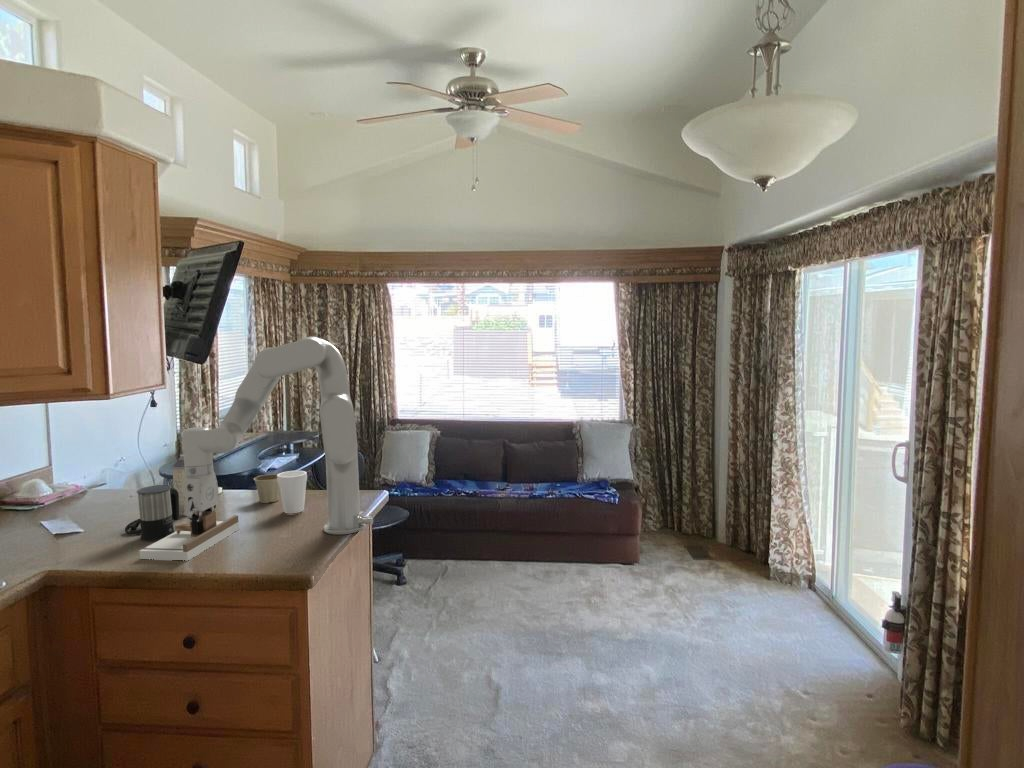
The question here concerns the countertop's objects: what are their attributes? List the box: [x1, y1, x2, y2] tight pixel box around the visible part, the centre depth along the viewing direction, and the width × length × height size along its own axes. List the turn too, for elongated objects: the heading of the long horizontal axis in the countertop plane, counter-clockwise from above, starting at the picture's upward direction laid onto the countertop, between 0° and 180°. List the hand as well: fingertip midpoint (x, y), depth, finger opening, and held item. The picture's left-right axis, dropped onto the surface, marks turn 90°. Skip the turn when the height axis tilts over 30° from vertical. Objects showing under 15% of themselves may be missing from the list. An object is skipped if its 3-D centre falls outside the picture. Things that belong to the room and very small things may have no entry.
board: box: [139, 514, 240, 562], centre depth 190 cm, size 14×26×4 cm, turn 173°
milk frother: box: [124, 484, 180, 542], centre depth 199 cm, size 14×16×15 cm
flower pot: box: [253, 473, 280, 504], centre depth 234 cm, size 9×9×9 cm
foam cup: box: [277, 470, 308, 514], centre depth 220 cm, size 10×9×13 cm
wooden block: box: [174, 511, 217, 537], centre depth 191 cm, size 11×5×6 cm, turn 83°
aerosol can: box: [172, 454, 196, 517], centre depth 220 cm, size 7×7×20 cm
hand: (203, 530), depth 191 cm, fingers closed on wooden block, 5 cm apart
